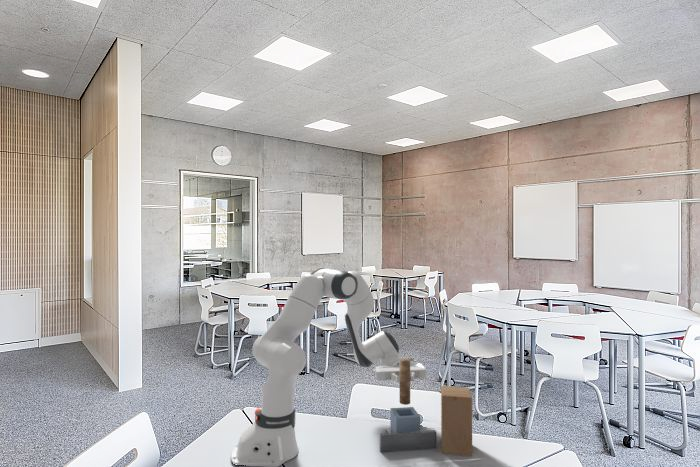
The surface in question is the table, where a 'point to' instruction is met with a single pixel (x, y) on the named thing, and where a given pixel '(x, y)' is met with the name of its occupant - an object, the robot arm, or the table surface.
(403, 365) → the dowel
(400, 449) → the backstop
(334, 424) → the table surface
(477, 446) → the table surface
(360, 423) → the table surface
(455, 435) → the wooden block
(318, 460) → the table surface
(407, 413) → the blue hollow square block
